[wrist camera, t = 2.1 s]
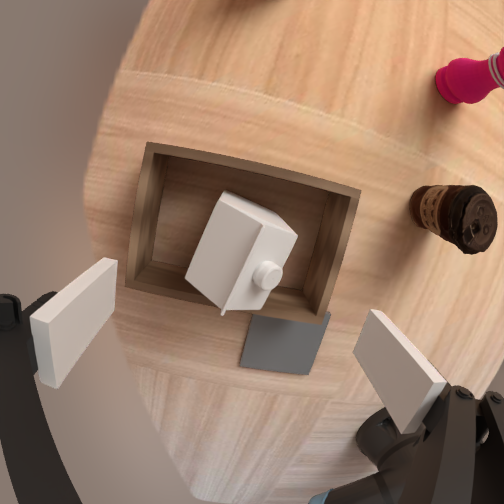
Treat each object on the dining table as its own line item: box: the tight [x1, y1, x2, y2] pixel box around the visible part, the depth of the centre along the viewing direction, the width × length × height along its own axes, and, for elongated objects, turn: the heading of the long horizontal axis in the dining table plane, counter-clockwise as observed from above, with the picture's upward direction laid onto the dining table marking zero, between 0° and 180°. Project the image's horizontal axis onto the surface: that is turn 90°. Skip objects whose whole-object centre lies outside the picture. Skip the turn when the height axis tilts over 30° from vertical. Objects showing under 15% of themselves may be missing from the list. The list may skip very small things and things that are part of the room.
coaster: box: [240, 312, 331, 375], centre depth 44 cm, size 11×11×1 cm
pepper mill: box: [435, 47, 504, 104], centre depth 26 cm, size 7×7×20 cm
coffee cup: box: [410, 185, 497, 255], centre depth 34 cm, size 9×8×13 cm
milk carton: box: [185, 190, 298, 316], centre depth 30 cm, size 7×7×19 cm
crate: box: [125, 142, 361, 325], centre depth 36 cm, size 16×23×8 cm
